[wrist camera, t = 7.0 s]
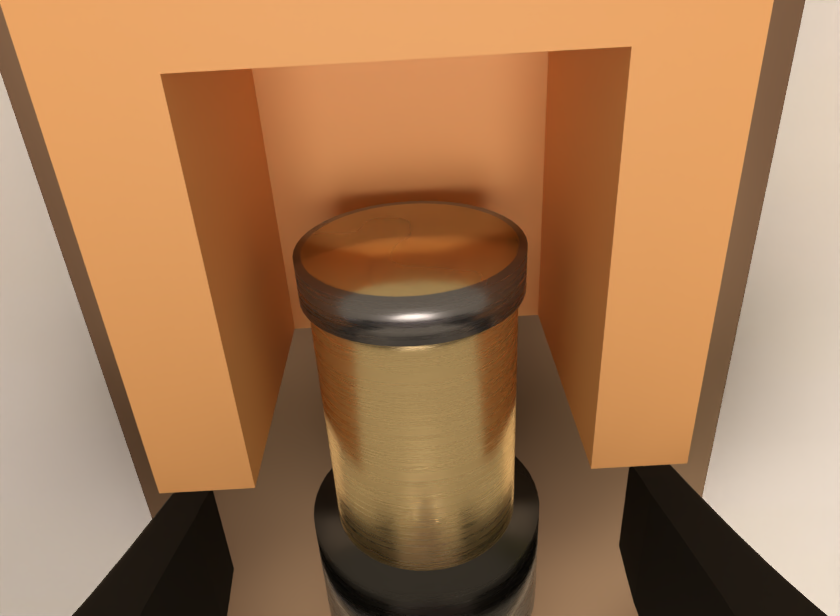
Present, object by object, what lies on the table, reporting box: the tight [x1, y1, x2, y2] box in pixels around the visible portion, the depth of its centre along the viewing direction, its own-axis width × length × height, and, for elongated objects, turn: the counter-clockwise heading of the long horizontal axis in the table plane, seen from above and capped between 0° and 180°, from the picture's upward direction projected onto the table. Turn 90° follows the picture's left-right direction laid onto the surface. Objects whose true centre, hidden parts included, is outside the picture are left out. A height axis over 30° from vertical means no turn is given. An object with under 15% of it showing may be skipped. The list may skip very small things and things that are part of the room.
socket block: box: [0, 0, 774, 493], centre depth 9 cm, size 7×6×4 cm
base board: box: [0, 0, 805, 616], centre depth 16 cm, size 12×27×1 cm, turn 3°
